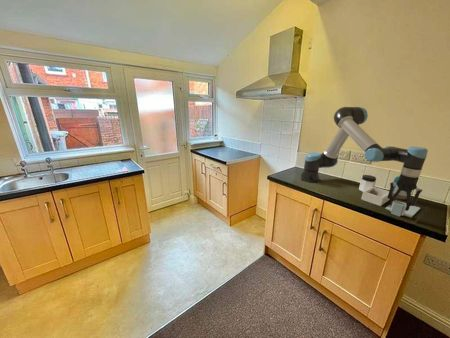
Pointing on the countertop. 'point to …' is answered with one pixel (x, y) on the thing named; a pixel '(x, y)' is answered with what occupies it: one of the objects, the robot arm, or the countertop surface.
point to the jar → (367, 182)
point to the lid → (399, 208)
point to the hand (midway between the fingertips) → (397, 212)
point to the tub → (375, 196)
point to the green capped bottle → (402, 194)
